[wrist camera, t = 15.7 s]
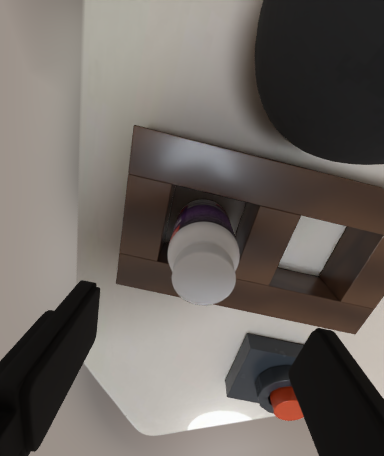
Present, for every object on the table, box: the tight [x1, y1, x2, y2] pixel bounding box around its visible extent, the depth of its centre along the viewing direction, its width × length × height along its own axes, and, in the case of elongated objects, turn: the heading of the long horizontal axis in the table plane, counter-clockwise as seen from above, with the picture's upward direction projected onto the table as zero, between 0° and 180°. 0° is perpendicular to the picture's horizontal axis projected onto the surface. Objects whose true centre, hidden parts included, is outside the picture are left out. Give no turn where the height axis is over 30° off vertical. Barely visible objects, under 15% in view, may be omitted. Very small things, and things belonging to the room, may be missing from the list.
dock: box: [116, 125, 384, 334], centre depth 20 cm, size 14×25×4 cm, turn 77°
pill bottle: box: [167, 199, 240, 305], centre depth 17 cm, size 5×5×10 cm
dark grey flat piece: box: [225, 333, 304, 413], centre depth 28 cm, size 12×10×4 cm
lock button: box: [270, 386, 304, 421], centre depth 25 cm, size 4×4×2 cm
